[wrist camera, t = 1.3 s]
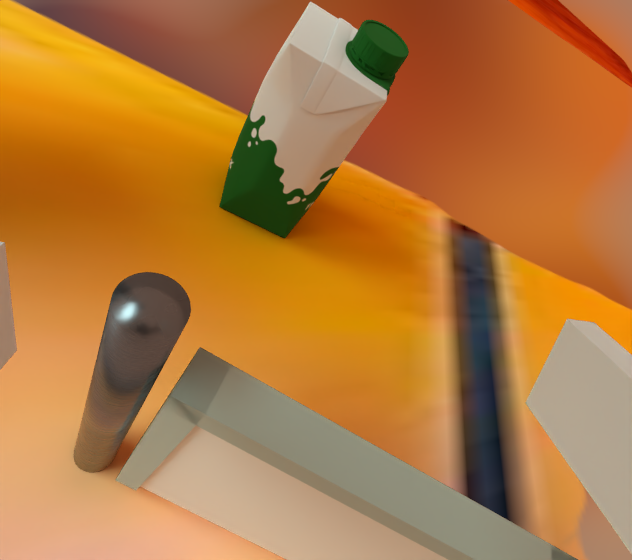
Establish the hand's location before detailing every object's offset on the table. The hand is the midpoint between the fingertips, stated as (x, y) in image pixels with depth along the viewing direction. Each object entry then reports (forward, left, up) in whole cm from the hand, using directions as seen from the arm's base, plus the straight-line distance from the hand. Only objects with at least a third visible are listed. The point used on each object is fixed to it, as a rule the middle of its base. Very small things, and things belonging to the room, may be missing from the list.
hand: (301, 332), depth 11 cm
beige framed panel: (+6, +5, -23) cm, 25 cm away
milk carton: (-18, +23, -25) cm, 38 cm away
